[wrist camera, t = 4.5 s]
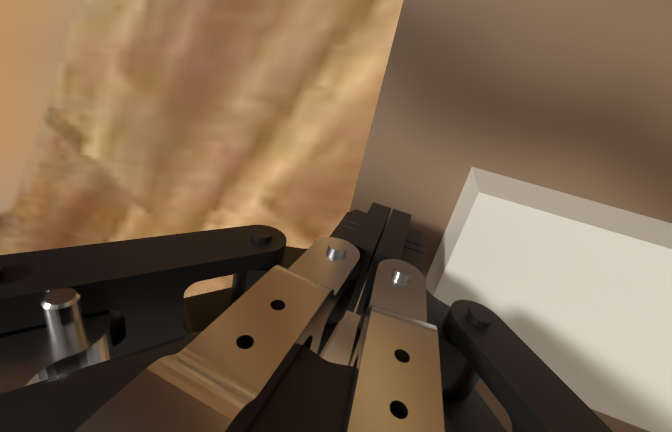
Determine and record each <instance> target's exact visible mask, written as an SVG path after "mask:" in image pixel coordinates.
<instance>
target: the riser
mask: <svg viewBox="0 0 672 432" xmlns="http://www.w3.org/2000/svg"><path fill="white" fill-rule="evenodd" d="M472 167H475V168H478V169H482V170H485V171H489V172H492V173H496V174H499V175H503V176H506V177H510V178H513V179H517V180H520V181H524V182H527V183H531V184H534V185H538V186H542V187H545V188H549V189H552V190H556V191H559V192H563V193H566V194H570V195H573V196H577V197H580V198H584V199H587V200H591V201H594V202H598V203H601V204H605V205H608V206H612V207H616V208H619V209H623V210H626V211H630V212H633V213H637V214H640V215H644V216H647V217H651V218H654V219H658V220H661V221H665V222H668V223H672V0H404V1H403V5H402V9H401V13H400V17H399V21H398V25H397V28H396V32H395V36H394V40H393V44H392V48H391V52H390V56H389V60H388V64H387V67H386V71H385V75H384V79H383V83H382V87H381V91H380V95H379V99H378V103H377V106H376V110H375V114H374V118H373V122H372V126H371V130H370V134H369V138H368V142H367V145H366V149H365V153H364V157H363V161H362V165H361V169H360V173H359V177H358V181H357V184H356V188H355V192H354V196H353V200H352V204H351V208H350V211H353V210H356V209H357V210H360V211H363V212H365V213H367V212H368V210H369V208H370V207H371V205H372V203H373V202H375V203H378V204H381V205H384V206H387V207H390V208H391V212H390V215H391V213H392V210H393V209H396V210H399V211H402V212H405V213H408V214H411V215H412V216H411V220H410V224H409V227H410V228H413V229H416V230H419V231H422V233H423V235H424V236H425V238H426V247H425V255H424V263H423V271H422V274H423V275H424V277H425V279H426V276H427V274H428V271H429V269H430V267H431V264H432V262H433V259H434V257H435V255H436V252H437V250H438V247H439V245H440V243H441V240H442V238H443V235H444V233H445V230H446V228H447V226H448V223H449V221H450V218H451V216H452V214H453V211H454V209H455V206H456V204H457V202H458V199H459V197H460V194H461V192H462V190H463V187H464V185H465V182H466V180H467V177H468V175H469V173H470V170H471V168H472ZM390 215H389V218H390ZM389 218H388V220H389ZM387 223H388V221H387ZM386 225H387V224H386ZM385 228H386V227H385ZM366 280H367V279H366ZM365 283H366V282H365ZM364 286H365V285H364ZM363 289H364V287H363ZM362 292H363V290H362ZM362 292H361V295H362ZM361 295H360V297H359V300H358V302H357V305H356V307H355V310H354V312H350V311H348V310H347V311H346V313H345V315H344V317H343V319H342V320H341V321H340V324H339V327H338V329H337V331H336V333H335V335H334V337H333V338H332V340H331V342H330V344H329V346H328V347H327V349H326V351H325V353H324V355H323V356H322V358H323V359H325V360H326V361H329V362H332V363H337V364H342V365H347V363H348V359H349V355H350V351H351V347H352V343H353V338H354V335H355V332H356V329H357V326H358V323H359V320H360V317H361V315H358V314H356V310H357V307H358V304H359V301H360V298H361ZM474 388H475V389H476V390H477V392H478V393H479V394H480V396H481V397H482V398H483V400H484V401H485V402H486V404H487V405H488V406H489V408H490V409H491V410H492V412H493V413H494V414H495V416H496V417H497V419H498V420H499V421H500V423H501V424H502V425H503V427H504V428H505V429H506V431H507V432H512V423H511V420H510V417H509V415H508V413H507V412H506V410H505V409H504V407H503V406H502V405H501V404H500V402H499V401H498V400H497V398H496V397H495V396H494V395H493V393H492V392H491V391H490V389H489V388H488V387H487V386H486V384H485V383H484V382H483V380H482V379H481V378H480V379H479V380H478V382H477V384H476V385H475V387H474ZM590 409H591V408H590ZM591 410H592V411H593V412H594V413H595V414H596V415H597V416H598V417H599V418H600V419H601V420H602V421H603V422H604V423H605V424H606V425H607V426H608V427H609V428H610V429H611V430H612V431H613V432H649V431H647V430H644V429H642V428H639V427H637V426H634V425H632V424H629V423H626V422H624V421H621V420H619V419H616V418H614V417H611V416H608V415H606V414H603V413H601V412H598V411H596V410H593V409H591Z"/></svg>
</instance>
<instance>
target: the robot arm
mask: <svg viewBox="0 0 672 432" xmlns="http://www.w3.org/2000/svg"><path fill="white" fill-rule="evenodd" d="M390 212H391V208H390V207H387V206H384V205H381V204H378V203H375V202H373V203H372V205H371V207H370V208H369V210H368V212H367V213H365V212H363V211H360V210H357V209H356V210H353V211H350V212H347V214H346V215H345V216H344V218H343V220H341V222H340V223H339V225H338V226H337V227H336V229H335V230H334V231H333V233H332V234H331V236H330V237H325V238H321V239H318V240H317V241H316V242H315V243H314V244H313V245H312V246H311V247H310V248H309V249H301V248H294V247H288V246H286V237H285V235H284V234H283V233H282V232H281V231H279V230H278V229H276V228H273V227H270V226H265V225H250V226H242V227H233V228H225V229H216V230H208V231H200V232H191V233H183V234H175V235H166V236H158V237H150V238H141V239H133V240H125V241H116V242H108V243H100V244H91V245H83V246H74V247H66V248H58V249H49V250H41V251H33V252H24V253H16V254H8V255H0V432H507V431H506V429H505V428H504V427H503V425H502V424H501V423H500V421H499V420H498V419H497V417H496V416H495V414H494V413H493V412H492V410H491V409H490V408H489V406H488V405H487V404H486V402H485V401H484V400H483V398H482V397H481V396H480V394H479V393H478V392H477V390H476V389H475V388H474V387H475V385H476V384H477V382H478V380H479V379H480V378H481V379H482V380H483V382H484V383H485V384H486V386H487V387H488V388H489V389H490V391H491V392H492V393H493V395H494V396H495V397H496V398H497V400H498V401H499V402H500V404H501V405H502V406H503V407H504V409H505V410H506V412H507V413H508V415H509V417H510V420H511V423H512V432H613V431H612V430H611V429H610V428H609V427H608V426H607V425H606V424H605V423H604V422H603V421H602V420H601V419H600V418H599V417H598V416H597V415H596V414H595V413H594V412H593V411H592V410H591V409H590V408H589V407H588V406H587V405H586V404H585V403H584V402H583V401H582V400H581V399H580V398H579V397H578V396H577V395H576V394H575V393H574V392H573V391H572V390H571V389H570V388H569V387H568V386H567V385H566V384H565V383H564V382H563V381H562V380H561V379H560V378H559V377H558V376H557V375H556V374H555V373H554V372H553V371H552V370H551V369H550V368H549V367H548V366H547V365H546V364H545V363H544V362H543V361H542V360H541V359H540V358H539V357H538V356H537V355H536V354H535V353H534V352H533V351H532V350H531V349H530V348H529V347H528V346H527V345H526V344H525V343H524V342H523V341H522V340H521V339H520V338H519V337H518V336H517V335H516V334H515V333H514V332H513V331H512V330H511V329H510V328H509V327H508V326H507V324H506V323H505V322H504V321H503V320H502V319H501V318H500V317H499V316H497V315H496V314H495V313H494V312H493V311H491V310H490V309H489V308H487V307H485V306H483V305H482V304H479V303H477V302H474V301H470V300H457V301H454V302H453V303H452V305H451V307H450V306H448V305H447V304H445V303H443V302H442V301H440V300H438V299H437V298H436V297H434V296H433V295H432V294H431V293H430V292H429V291H428V290H427V289H426V279H425V277H424V275H423V274H422V271H423V263H424V255H425V247H426V238H425V236H424V235H423V233H422V231H419V230H416V229H413V228H410V227H409V224H410V220H411V216H412V215H411V214H408V213H405V212H402V211H399V210H396V209H393V210H392V213H391V215H390ZM389 215H390V218H389ZM388 218H389V220H388ZM387 221H388V223H387ZM386 224H387V225H386ZM385 227H386V228H385ZM232 274H233V283H232V287H231V288H227V289H222V290H218V291H214V292H209V293H205V294H200V295H196V296H192V297H187V298H184V292H185V290H186V289H187V288H188V287H189V286H190V285H192V284H193V283H195V282H198V281H202V280H207V279H212V278H217V277H222V276H227V275H232ZM366 279H367V280H366ZM365 282H366V283H365ZM364 285H365V286H364ZM363 287H364V289H363ZM362 290H363V292H362ZM361 292H362V295H361ZM360 295H361V298H360V301H359V304H358V307H357V310H356V314H358V315H361V317H360V320H359V323H358V326H357V329H356V332H355V335H354V338H353V343H352V347H351V351H350V355H349V359H348V363H347V365H342V364H337V363H332V362H329V361H326V360H325V359H323V358H322V356H323V355H324V353H325V351H326V349H327V347H328V346H329V344H330V342H331V340H332V338H333V337H334V335H335V333H336V331H337V329H338V327H339V324H340V321H341V320H342V319H343V317H344V315H345V313H346V311H347V310H348V311H350V312H354V310H355V307H356V305H357V302H358V300H359V297H360Z"/></svg>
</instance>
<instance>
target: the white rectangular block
mask: <svg viewBox="0 0 672 432" xmlns="http://www.w3.org/2000/svg"><path fill="white" fill-rule="evenodd" d="M426 289H427V290H428V291H429V292H430V293H431V294H432V295H433V296H434V297H436V298H437V299H438V300H440V301H442V302H443V303H445V304H447V305H448V306H450V307H451V305H452V303H453V302H454V301H457V300H470V301H474V302H477V303H479V304H482V305H483V306H485V307H487V308H489V309H490V310H491V311H493V312H494V313H495V314H496V315H497V316H499V317H500V318H501V319H502V320H503V321H504V322H505V323H506V324H507V326H508V327H509V328H510V329H511V330H512V331H513V332H514V333H515V334H516V335H517V336H518V337H519V338H520V339H521V340H522V341H523V342H524V343H525V344H526V345H527V346H528V347H529V348H530V349H531V350H532V351H533V352H534V353H535V354H536V355H537V356H538V357H539V358H540V359H541V360H542V361H543V362H544V363H545V364H546V365H547V366H548V367H549V368H550V369H551V370H552V371H553V372H554V373H555V374H556V375H557V376H558V377H559V378H560V379H561V380H562V381H563V382H564V383H565V384H566V385H567V386H568V387H569V388H570V389H571V390H572V391H573V392H574V393H575V394H576V395H577V396H578V397H579V398H580V399H581V400H582V401H583V402H584V403H585V404H586V405H587V406H588V407H589V408H591V409H593V410H596V411H598V412H601V413H603V414H606V415H608V416H611V417H614V418H616V419H619V420H621V421H624V422H626V423H629V424H632V425H634V426H637V427H639V428H642V429H644V430H647V431H649V432H672V223H668V222H665V221H661V220H658V219H654V218H651V217H647V216H644V215H640V214H637V213H633V212H630V211H626V210H623V209H619V208H616V207H612V206H608V205H605V204H601V203H598V202H594V201H591V200H587V199H584V198H580V197H577V196H573V195H570V194H566V193H563V192H559V191H556V190H552V189H549V188H545V187H542V186H538V185H534V184H531V183H527V182H524V181H520V180H517V179H513V178H510V177H506V176H503V175H499V174H496V173H492V172H489V171H485V170H482V169H478V168H475V167H472V168H471V170H470V173H469V175H468V177H467V180H466V182H465V185H464V187H463V190H462V192H461V194H460V197H459V199H458V202H457V204H456V206H455V209H454V211H453V214H452V216H451V218H450V221H449V223H448V226H447V228H446V230H445V233H444V235H443V238H442V240H441V243H440V245H439V247H438V250H437V252H436V255H435V257H434V259H433V262H432V264H431V267H430V269H429V271H428V274H427V276H426Z"/></svg>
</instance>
